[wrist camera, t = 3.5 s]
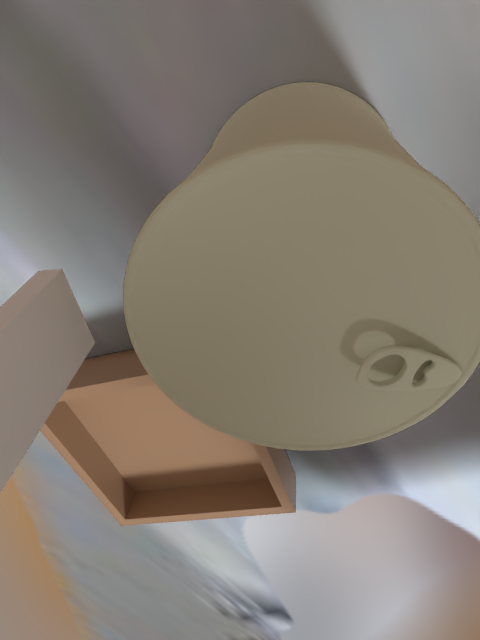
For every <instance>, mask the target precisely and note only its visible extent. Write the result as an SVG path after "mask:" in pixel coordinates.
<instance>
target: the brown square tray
mask: <svg viewBox="0 0 480 640" xmlns="http://www.w3.org/2000/svg"><path fill="white" fill-rule="evenodd" d="M40 431H41V432H42V434H43V435H44V436H45V437H46V438H47V439H48V441H49V442H50V443H51V444H52V445H53V446H54V448H55V449H56V450H57V451H58V452H59V454H60V455H61V456H62V457H63V458H64V459H65V461H66V462H67V463H68V464H69V465H70V466H71V468H72V469H73V470H74V471H75V472H76V473H77V475H78V476H79V477H80V478H81V479H82V480H83V482H84V483H85V484H86V485H87V486H88V487H89V489H90V490H91V491H92V492H93V493H94V495H95V496H96V497H97V498H98V499H99V500H100V502H101V503H102V504H103V505H104V506H105V507H106V509H107V510H108V511H109V512H110V513H111V514H112V516H113V517H114V518H115V519H116V520H117V521H118V523H119V524H120V525H121V526H124V525H137V524H150V523H163V522H176V521H189V520H202V519H215V518H228V517H241V516H254V515H267V514H280V513H292V512H296V475H295V472H294V470H293V467H292V465H291V463H290V460H289V458H288V455H287V453H286V451H285V449H278V448H272V447H267V446H262V445H257V444H253V443H249V442H246V441H243V440H240V439H237V438H233V437H231V436H229V435H226V434H224V433H221V432H219V431H217V430H215V429H213V428H211V427H209V426H207V425H205V424H203V423H202V422H200V421H198V420H197V419H195V418H194V417H192V416H191V415H189V414H188V413H186V412H185V411H184V410H182V409H181V408H180V407H178V406H177V405H176V404H175V403H174V402H173V401H172V400H171V399H170V398H168V397H167V396H166V395H165V394H164V393H163V392H162V391H161V389H160V388H159V387H158V386H157V385H156V383H155V382H154V381H153V380H152V379H151V377H150V376H149V375H148V373H147V372H146V370H145V369H144V367H143V365H142V364H141V362H140V360H139V358H138V356H137V354H136V352H135V350H134V349H130V350H125V351H121V352H116V353H111V354H107V355H102V356H97V357H93V358H88V359H85V360H84V361H83V363H82V365H81V366H80V368H79V369H78V371H77V373H76V374H75V376H74V377H73V379H72V380H71V382H70V384H69V385H68V387H67V388H66V390H65V391H64V393H63V395H62V396H61V398H60V399H59V401H58V403H57V404H56V406H55V407H54V409H53V410H52V412H51V414H50V415H49V417H48V418H47V420H46V421H45V423H44V425H43V426H42V428H41V429H40Z"/></svg>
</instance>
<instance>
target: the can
mask: <svg viewBox="0 0 480 640" xmlns="http://www.w3.org/2000/svg"><path fill="white" fill-rule="evenodd" d="M123 308H124V315H125V321H126V326H127V330H128V333H129V337H130V340H131V342H132V345H133V348H134V350H135V352H136V354H137V356H138V358H139V360H140V362H141V364H142V365H143V367H144V369H145V370H146V372H147V373H148V375H149V376H150V377H151V379H152V380H153V381H154V382H155V383H156V385H157V386H158V387H159V388H160V389H161V391H162V392H163V393H164V394H165V395H166V396H167V397H168V398H170V399H171V400H172V401H173V402H174V403H175V404H176V405H177V406H178V407H180V408H181V409H182V410H184V411H185V412H186V413H188V414H189V415H191V416H192V417H194V418H195V419H197V420H198V421H200V422H202V423H203V424H205V425H207V426H209V427H211V428H213V429H215V430H217V431H219V432H221V433H224V434H226V435H229V436H231V437H233V438H237V439H240V440H243V441H246V442H249V443H253V444H257V445H262V446H267V447H272V448H278V449H288V450H304V451H315V450H332V449H339V448H347V447H352V446H357V445H361V444H365V443H370V442H373V441H376V440H379V439H382V438H385V437H388V436H390V435H393V434H395V433H398V432H400V431H402V430H404V429H406V428H408V427H410V426H412V425H414V424H416V423H418V422H419V421H421V420H422V419H424V418H426V417H427V416H429V415H430V414H432V413H433V412H434V411H436V410H437V409H438V408H440V407H441V406H442V405H443V404H444V403H446V402H447V401H448V400H449V399H450V398H451V397H452V396H454V395H455V393H456V392H457V391H458V390H459V389H460V388H461V387H462V386H463V385H464V384H465V383H466V381H467V380H468V379H469V378H470V376H471V375H472V374H473V372H474V371H475V369H476V367H477V366H478V364H479V362H480V224H479V223H478V221H477V219H476V218H475V216H474V215H473V214H472V212H471V211H470V210H469V208H468V207H467V206H466V205H465V203H464V202H463V201H462V200H461V199H460V198H459V196H458V195H457V194H456V193H455V192H453V191H452V190H451V189H450V188H449V187H448V186H447V185H446V184H445V183H444V182H442V181H441V180H439V179H438V178H437V177H435V176H434V175H433V174H431V173H430V172H429V171H427V170H425V169H424V168H422V167H421V166H420V165H419V164H418V163H417V162H416V161H415V160H414V159H413V158H412V157H411V156H410V155H409V154H408V153H407V152H406V151H405V149H404V148H403V147H402V146H401V145H400V144H399V143H398V142H397V141H396V140H395V139H394V138H393V136H392V133H391V132H390V130H389V128H388V126H387V125H386V123H385V122H384V120H383V119H382V118H381V116H380V115H379V114H378V113H377V112H376V111H375V110H374V109H373V108H372V107H371V106H370V105H369V104H368V103H366V102H365V101H364V100H362V99H361V98H359V97H358V96H356V95H355V94H353V93H350V92H348V91H346V90H344V89H342V88H339V87H336V86H333V85H328V84H324V83H315V82H300V83H291V84H286V85H282V86H278V87H275V88H272V89H270V90H267V91H265V92H263V93H261V94H259V95H257V96H255V97H254V98H252V99H251V100H249V101H248V102H246V103H245V104H244V105H243V106H241V107H240V108H239V109H238V110H237V111H236V112H235V113H234V114H233V115H232V116H231V117H230V118H229V119H228V120H227V122H226V123H225V124H224V125H223V127H222V128H221V130H220V131H219V133H218V135H217V136H216V138H215V140H214V142H213V144H212V147H211V149H210V150H209V151H208V153H207V154H206V155H205V156H204V158H203V159H202V160H201V161H200V163H199V164H198V165H197V166H196V167H195V168H194V170H193V171H192V172H191V173H190V174H189V176H188V177H187V178H186V179H185V180H184V181H182V182H181V183H180V184H179V185H178V186H177V187H176V188H174V189H173V190H172V191H171V192H170V193H169V194H168V195H167V196H166V197H165V198H164V199H163V200H162V201H161V202H160V203H159V205H158V206H157V207H156V208H155V209H154V211H153V212H152V213H151V215H150V216H149V217H148V219H147V220H146V222H145V224H144V225H143V227H142V229H141V230H140V232H139V234H138V236H137V238H136V241H135V243H134V245H133V247H132V250H131V253H130V256H129V259H128V263H127V267H126V272H125V278H124V284H123Z"/></svg>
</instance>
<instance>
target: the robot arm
mask: <svg viewBox="0 0 480 640" xmlns="http://www.w3.org/2000/svg"><path fill="white" fill-rule="evenodd" d="M94 344H95V341H94V339H93V337H92V334H91V332H90V330H89V328H88V325H87V323H86V321H85V319H84V317H83V314H82V312H81V310H80V308H79V305H78V303H77V301H76V299H75V297H74V294H73V292H72V290H71V288H70V286H69V283H68V281H67V279H66V277H65V274H64V272H63V270H62V269H54V270H43V271H38V272H37V273H36V274H35V275H34V276H33V277H32V278H30V279H29V280H28V281H27V282H26V283H25V284H24V285H23V286H22V287H21V288H20V289H19V290H18V291H17V292H16V293H15V294H14V295H13V296H12V297H10V298H9V299H8V300H7V301H6V302H5V303H4V304H3V305H2V306H1V307H0V492H1V491H2V489H3V488H4V486H5V484H6V483H7V481H8V480H9V478H10V477H11V475H12V474H13V472H14V470H15V469H16V467H17V466H18V464H19V462H20V461H21V459H22V458H23V456H24V455H25V453H26V451H27V450H28V448H29V447H30V445H31V444H32V442H33V440H34V439H35V437H36V436H37V434H38V432H39V431H40V429H41V428H42V426H43V425H44V423H45V421H46V420H47V418H48V417H49V415H50V414H51V412H52V410H53V409H54V407H55V406H56V404H57V403H58V401H59V399H60V398H61V396H62V395H63V393H64V391H65V390H66V388H67V387H68V385H69V384H70V382H71V380H72V379H73V377H74V376H75V374H76V373H77V371H78V369H79V368H80V366H81V365H82V363H83V361H84V360H85V358H86V357H87V355H88V354H89V352H90V350H91V349H92V347H93V346H94Z"/></svg>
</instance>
